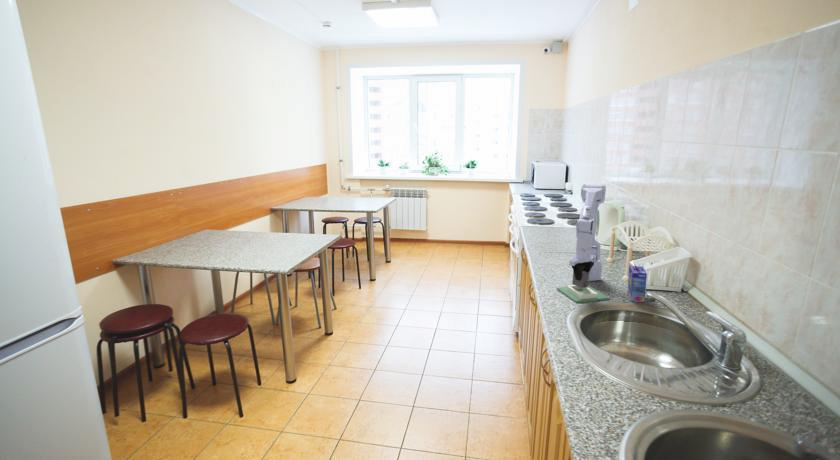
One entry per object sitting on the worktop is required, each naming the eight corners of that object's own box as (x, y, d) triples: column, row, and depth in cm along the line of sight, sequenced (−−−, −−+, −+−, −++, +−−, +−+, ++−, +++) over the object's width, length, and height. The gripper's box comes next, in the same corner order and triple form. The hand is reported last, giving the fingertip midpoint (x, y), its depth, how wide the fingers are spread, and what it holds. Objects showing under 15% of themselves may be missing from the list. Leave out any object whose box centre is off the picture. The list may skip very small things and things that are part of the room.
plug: (577, 282, 172) (578, 269, 171) (589, 286, 167) (590, 272, 166) (572, 284, 170) (573, 270, 169) (584, 288, 165) (585, 274, 164)
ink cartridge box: (626, 292, 171) (629, 259, 168) (640, 293, 169) (644, 260, 166) (629, 301, 162) (633, 267, 159) (645, 302, 160) (648, 268, 157)
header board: (587, 286, 178) (588, 281, 178) (609, 299, 164) (610, 293, 163) (556, 289, 176) (557, 283, 175) (576, 302, 161) (576, 296, 161)
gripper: (586, 243, 172) (584, 273, 175) (563, 248, 165) (561, 279, 168) (601, 246, 166) (598, 277, 169) (578, 252, 159) (576, 284, 162)
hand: (581, 279), depth 168 cm, fingers closed on plug, 3 cm apart
